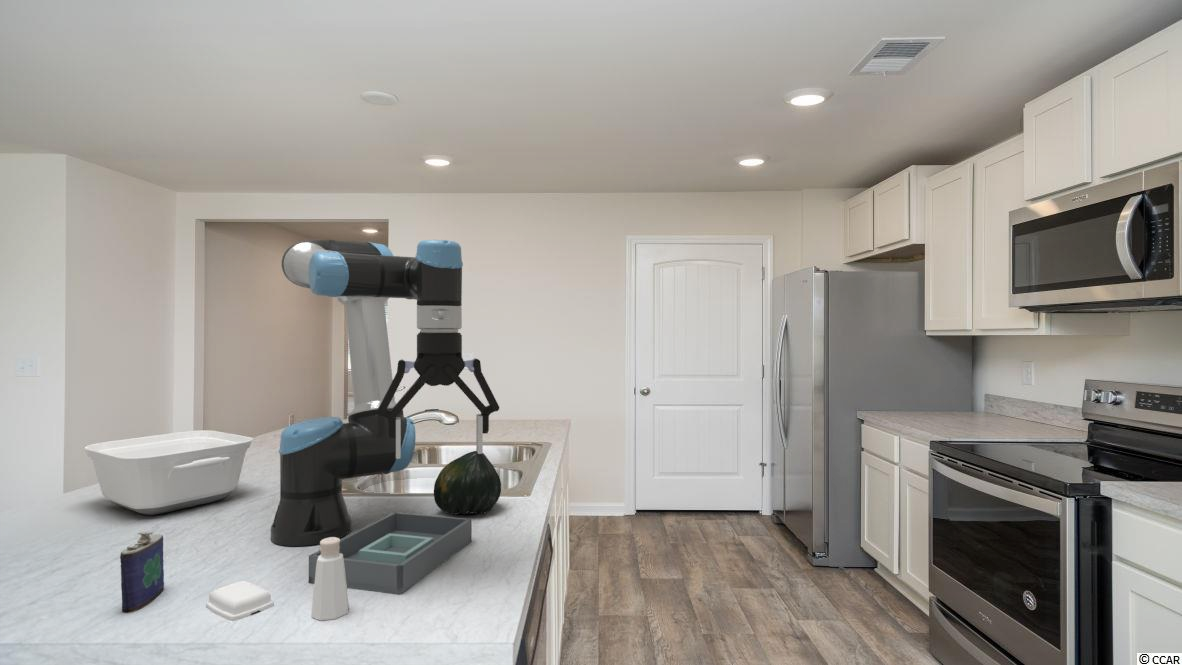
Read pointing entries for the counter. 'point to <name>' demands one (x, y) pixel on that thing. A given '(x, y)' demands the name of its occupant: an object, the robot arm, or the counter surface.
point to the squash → (467, 485)
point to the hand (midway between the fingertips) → (439, 454)
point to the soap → (239, 600)
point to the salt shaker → (330, 582)
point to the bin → (398, 550)
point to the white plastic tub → (169, 469)
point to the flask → (142, 572)
